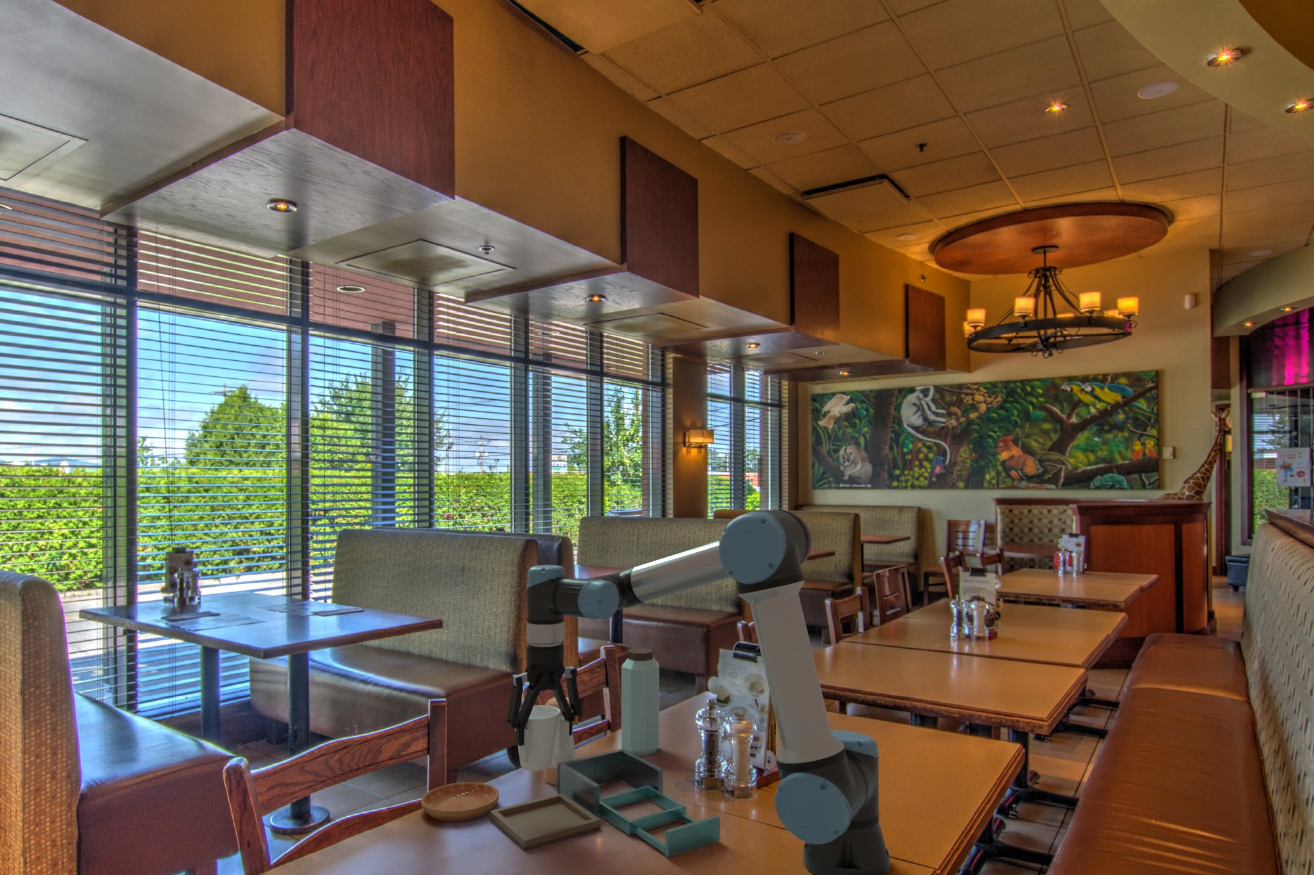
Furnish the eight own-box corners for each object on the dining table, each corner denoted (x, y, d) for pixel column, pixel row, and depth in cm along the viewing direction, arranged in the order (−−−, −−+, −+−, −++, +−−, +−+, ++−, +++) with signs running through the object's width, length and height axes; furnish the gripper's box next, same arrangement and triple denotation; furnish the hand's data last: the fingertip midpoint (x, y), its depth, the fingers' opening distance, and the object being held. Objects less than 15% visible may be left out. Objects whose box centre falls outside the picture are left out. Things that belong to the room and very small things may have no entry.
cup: (552, 776, 160) (552, 720, 161) (504, 773, 162) (504, 717, 162) (566, 759, 170) (566, 706, 171) (520, 757, 172) (521, 704, 172)
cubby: (662, 800, 175) (662, 769, 175) (594, 818, 165) (594, 786, 166) (623, 777, 188) (623, 748, 189) (557, 793, 179) (557, 763, 179)
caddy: (723, 840, 155) (723, 815, 156) (664, 859, 148) (664, 833, 148) (648, 796, 177) (648, 775, 177) (594, 811, 169) (594, 788, 169)
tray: (600, 828, 161) (600, 819, 161) (524, 850, 152) (524, 840, 152) (561, 801, 174) (561, 792, 174) (489, 819, 165) (489, 810, 165)
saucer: (417, 800, 175) (417, 786, 176) (492, 790, 181) (492, 777, 181) (424, 831, 160) (425, 815, 161) (505, 819, 166) (505, 804, 166)
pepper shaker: (579, 782, 185) (580, 696, 186) (548, 786, 183) (549, 700, 184) (571, 771, 192) (571, 689, 193) (540, 775, 189) (541, 692, 190)
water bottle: (616, 745, 210) (616, 648, 211) (653, 741, 213) (653, 645, 214) (626, 758, 201) (626, 656, 202) (665, 754, 204) (665, 653, 205)
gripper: (581, 633, 174) (581, 742, 173) (489, 645, 162) (487, 761, 161) (599, 639, 168) (599, 752, 167) (504, 652, 156) (503, 773, 155)
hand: (544, 756), depth 164 cm, fingers closed on cup, 8 cm apart
